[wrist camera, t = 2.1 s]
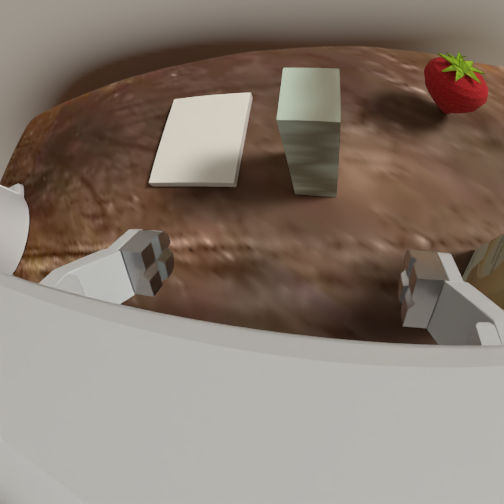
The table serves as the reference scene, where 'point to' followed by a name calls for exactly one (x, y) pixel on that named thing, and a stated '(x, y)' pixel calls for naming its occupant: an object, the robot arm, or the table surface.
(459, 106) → the strawberry
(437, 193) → the table surface
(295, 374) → the robot arm
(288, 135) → the handle block
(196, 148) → the ceramic tile
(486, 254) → the skincare box
